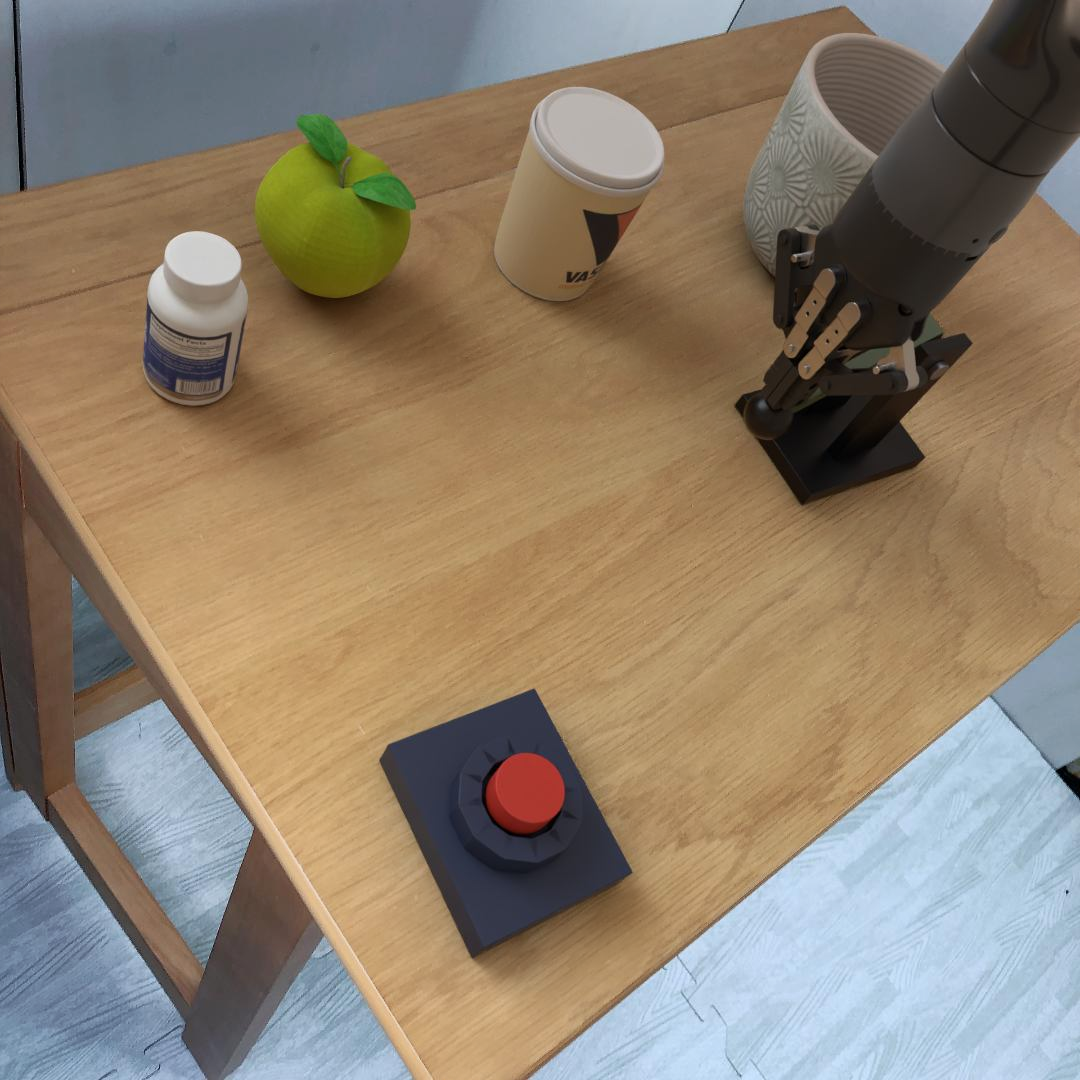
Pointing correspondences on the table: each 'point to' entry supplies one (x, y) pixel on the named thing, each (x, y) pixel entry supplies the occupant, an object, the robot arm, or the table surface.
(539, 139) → the coffee cup
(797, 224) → the planter
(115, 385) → the table surface
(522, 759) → the button
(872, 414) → the bracket
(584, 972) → the table surface
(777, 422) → the lever
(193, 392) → the pill bottle
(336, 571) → the table surface
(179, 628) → the table surface
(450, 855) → the button block
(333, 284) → the fruit
